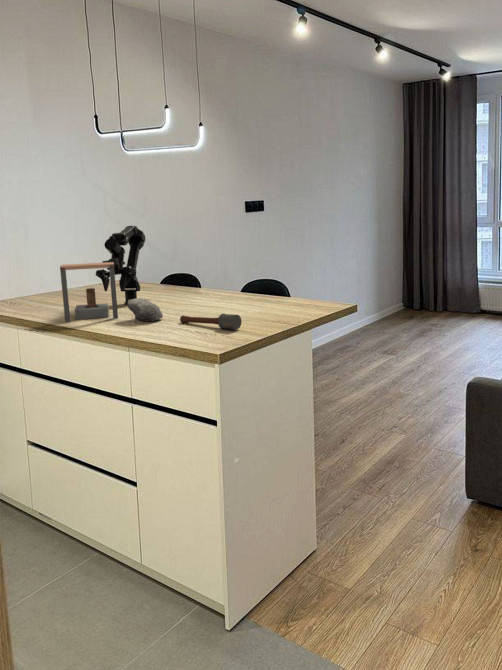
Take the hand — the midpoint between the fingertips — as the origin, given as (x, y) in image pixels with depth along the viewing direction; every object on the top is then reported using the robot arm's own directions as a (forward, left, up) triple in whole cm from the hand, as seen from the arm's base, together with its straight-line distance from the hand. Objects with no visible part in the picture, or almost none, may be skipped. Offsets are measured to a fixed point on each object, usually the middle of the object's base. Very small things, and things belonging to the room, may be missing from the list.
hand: (114, 290), depth 288 cm
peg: (+7, -10, -10) cm, 16 cm away
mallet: (+51, +36, -10) cm, 63 cm away
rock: (+27, +12, -10) cm, 31 cm away
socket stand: (+10, -10, -10) cm, 17 cm away
